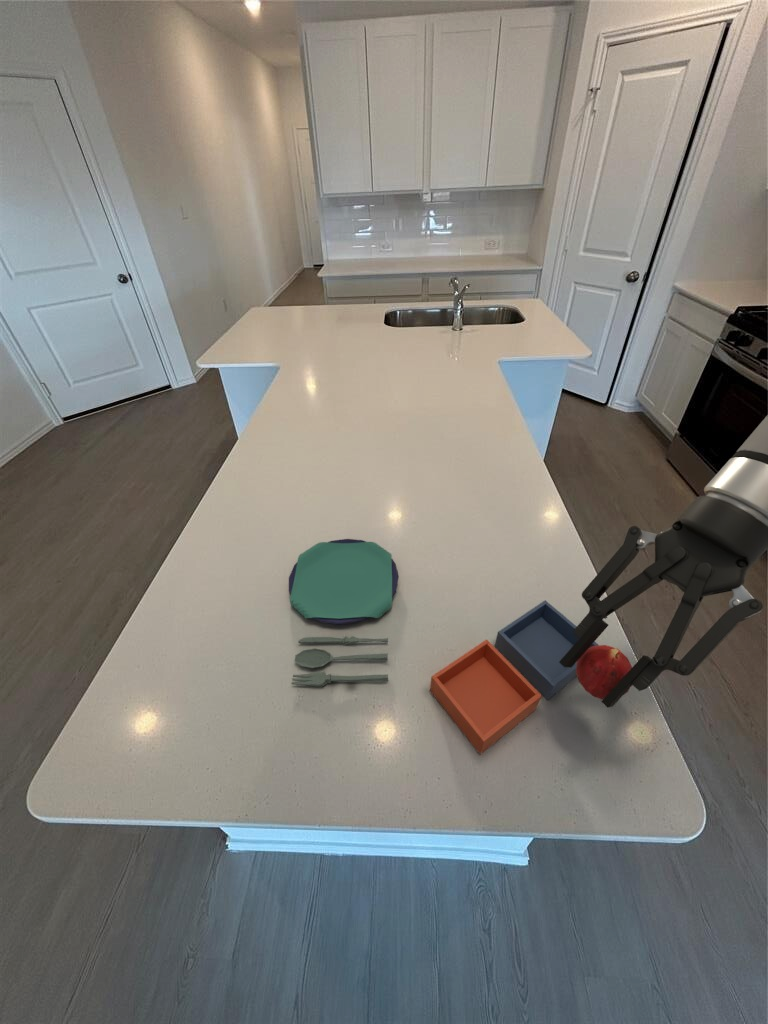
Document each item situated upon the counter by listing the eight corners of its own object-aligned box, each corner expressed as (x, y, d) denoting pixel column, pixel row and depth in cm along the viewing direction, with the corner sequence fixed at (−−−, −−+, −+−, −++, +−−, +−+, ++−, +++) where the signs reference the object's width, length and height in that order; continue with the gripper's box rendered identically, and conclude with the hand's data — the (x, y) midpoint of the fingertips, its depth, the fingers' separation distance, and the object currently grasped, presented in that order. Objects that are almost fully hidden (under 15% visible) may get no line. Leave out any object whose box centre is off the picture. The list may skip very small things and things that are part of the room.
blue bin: (594, 662, 68) (602, 647, 65) (547, 700, 63) (553, 686, 61) (540, 614, 74) (545, 599, 72) (494, 646, 70) (497, 631, 67)
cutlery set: (397, 544, 88) (397, 536, 86) (401, 687, 65) (401, 679, 64) (298, 546, 88) (296, 537, 87) (268, 688, 65) (265, 681, 64)
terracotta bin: (536, 709, 62) (542, 695, 60) (480, 754, 58) (483, 741, 55) (483, 653, 69) (486, 639, 66) (429, 690, 65) (431, 676, 62)
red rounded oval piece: (622, 718, 50) (647, 684, 45) (568, 702, 51) (587, 668, 46) (620, 672, 54) (643, 636, 49) (570, 659, 55) (587, 623, 50)
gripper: (839, 575, 41) (667, 750, 45) (658, 482, 53) (535, 628, 57) (854, 560, 35) (657, 761, 40) (648, 459, 47) (512, 624, 51)
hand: (585, 683), depth 48 cm, fingers closed on red rounded oval piece, 5 cm apart
